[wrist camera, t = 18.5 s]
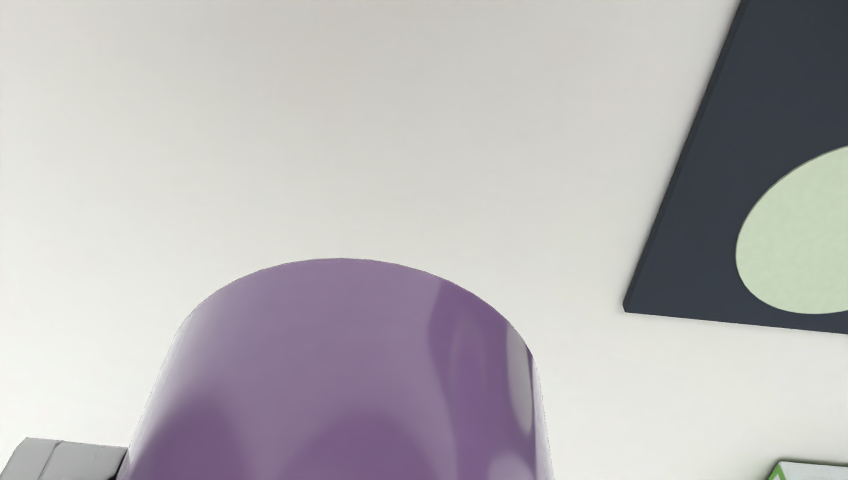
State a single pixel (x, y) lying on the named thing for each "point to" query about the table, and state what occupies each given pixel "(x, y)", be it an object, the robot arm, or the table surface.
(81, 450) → the robot arm
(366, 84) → the table surface
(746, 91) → the mat
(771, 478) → the ink box
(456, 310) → the dish
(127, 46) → the table surface
